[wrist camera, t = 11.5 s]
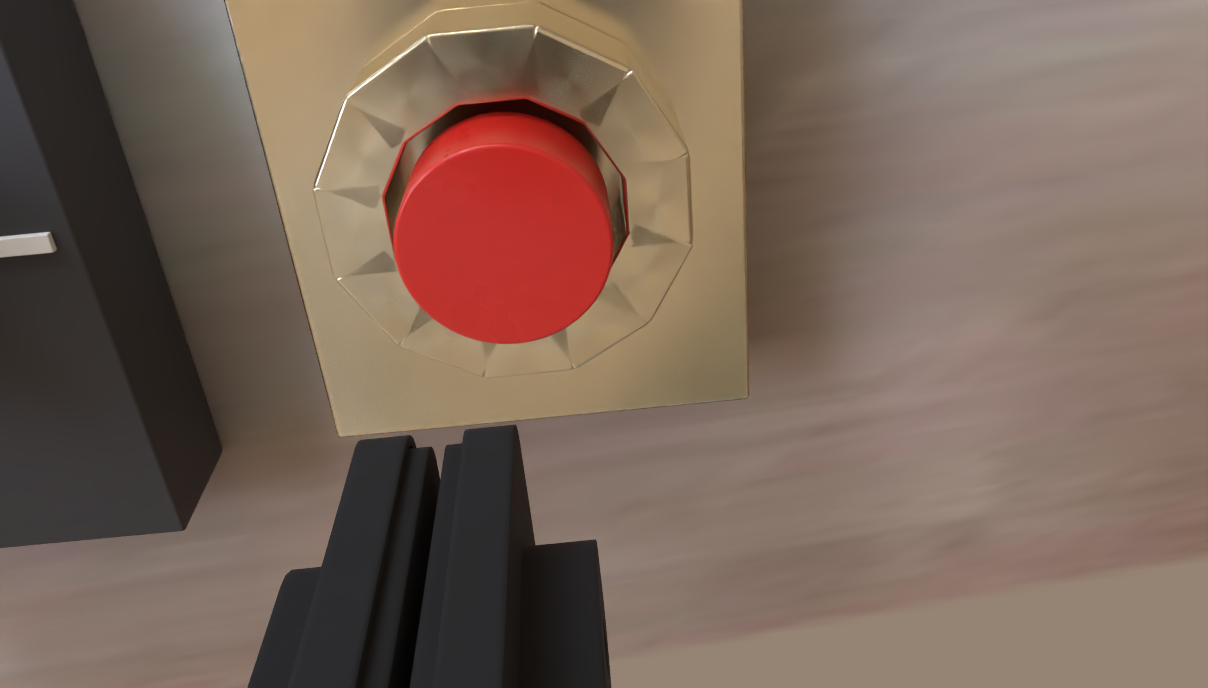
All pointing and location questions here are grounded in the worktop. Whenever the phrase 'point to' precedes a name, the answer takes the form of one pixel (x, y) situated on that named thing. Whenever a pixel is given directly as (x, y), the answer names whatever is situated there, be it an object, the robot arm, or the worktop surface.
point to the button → (504, 229)
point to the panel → (83, 312)
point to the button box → (530, 86)
